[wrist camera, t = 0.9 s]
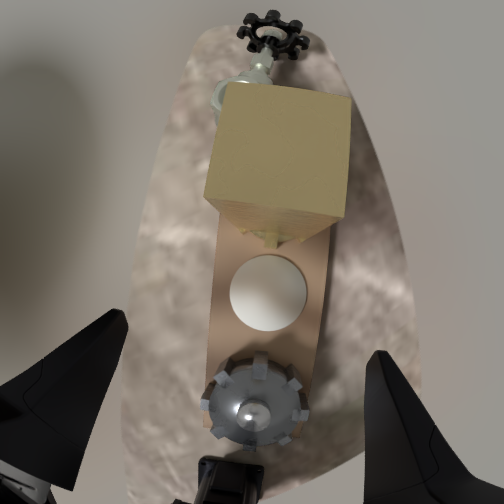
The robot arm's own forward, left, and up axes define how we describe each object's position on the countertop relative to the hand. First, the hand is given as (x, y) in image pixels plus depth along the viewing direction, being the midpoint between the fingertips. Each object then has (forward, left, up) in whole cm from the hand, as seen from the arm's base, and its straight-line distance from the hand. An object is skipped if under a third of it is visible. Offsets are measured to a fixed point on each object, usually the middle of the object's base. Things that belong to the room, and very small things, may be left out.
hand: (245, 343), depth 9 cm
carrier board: (-1, -1, -13) cm, 14 cm away
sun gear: (-8, -1, -12) cm, 15 cm away
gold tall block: (+7, -1, -12) cm, 14 cm away
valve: (+17, +2, -14) cm, 22 cm away
